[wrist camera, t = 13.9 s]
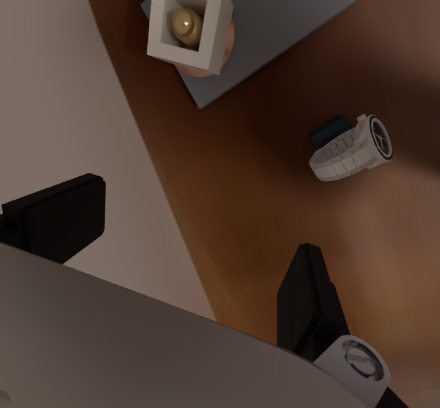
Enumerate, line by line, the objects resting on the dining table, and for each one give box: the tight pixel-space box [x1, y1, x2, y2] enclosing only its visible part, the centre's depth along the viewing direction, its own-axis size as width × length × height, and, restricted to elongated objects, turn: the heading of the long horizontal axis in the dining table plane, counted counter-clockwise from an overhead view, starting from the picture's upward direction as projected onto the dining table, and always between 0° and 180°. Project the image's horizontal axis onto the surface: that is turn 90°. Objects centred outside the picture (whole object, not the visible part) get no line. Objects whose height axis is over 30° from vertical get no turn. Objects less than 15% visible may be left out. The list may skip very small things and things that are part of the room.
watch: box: [308, 114, 393, 181], centre depth 27 cm, size 6×8×11 cm
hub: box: [171, 8, 235, 78], centre depth 27 cm, size 9×9×6 cm
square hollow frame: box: [147, 0, 234, 76], centre depth 27 cm, size 7×7×6 cm
